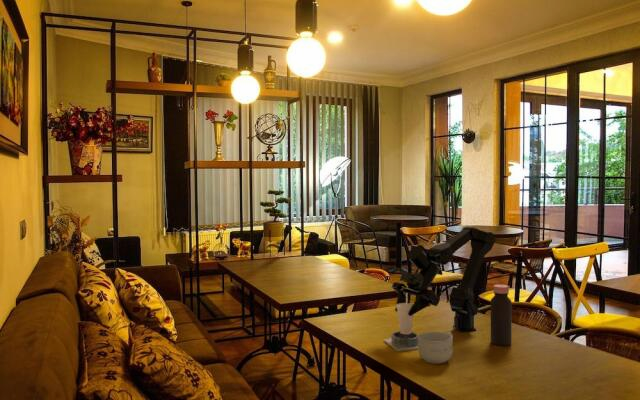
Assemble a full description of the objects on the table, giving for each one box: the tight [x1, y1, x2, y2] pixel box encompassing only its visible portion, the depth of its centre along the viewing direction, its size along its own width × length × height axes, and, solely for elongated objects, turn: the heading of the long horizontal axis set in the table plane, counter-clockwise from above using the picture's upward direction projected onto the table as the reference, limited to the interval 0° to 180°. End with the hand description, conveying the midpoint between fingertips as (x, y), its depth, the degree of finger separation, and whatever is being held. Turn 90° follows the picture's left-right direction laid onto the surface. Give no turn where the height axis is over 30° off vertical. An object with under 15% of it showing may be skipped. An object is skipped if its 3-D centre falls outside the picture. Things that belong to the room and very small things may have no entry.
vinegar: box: [490, 284, 513, 347], centre depth 172 cm, size 7×7×20 cm
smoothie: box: [395, 293, 414, 334], centre depth 172 cm, size 6×6×14 cm
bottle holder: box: [383, 330, 419, 352], centre depth 172 cm, size 11×11×3 cm
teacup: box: [417, 331, 454, 365], centre depth 158 cm, size 14×11×8 cm
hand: (402, 313), depth 171 cm, fingers closed on smoothie, 6 cm apart
